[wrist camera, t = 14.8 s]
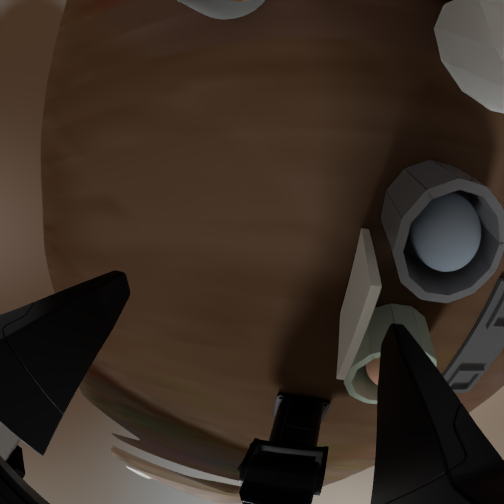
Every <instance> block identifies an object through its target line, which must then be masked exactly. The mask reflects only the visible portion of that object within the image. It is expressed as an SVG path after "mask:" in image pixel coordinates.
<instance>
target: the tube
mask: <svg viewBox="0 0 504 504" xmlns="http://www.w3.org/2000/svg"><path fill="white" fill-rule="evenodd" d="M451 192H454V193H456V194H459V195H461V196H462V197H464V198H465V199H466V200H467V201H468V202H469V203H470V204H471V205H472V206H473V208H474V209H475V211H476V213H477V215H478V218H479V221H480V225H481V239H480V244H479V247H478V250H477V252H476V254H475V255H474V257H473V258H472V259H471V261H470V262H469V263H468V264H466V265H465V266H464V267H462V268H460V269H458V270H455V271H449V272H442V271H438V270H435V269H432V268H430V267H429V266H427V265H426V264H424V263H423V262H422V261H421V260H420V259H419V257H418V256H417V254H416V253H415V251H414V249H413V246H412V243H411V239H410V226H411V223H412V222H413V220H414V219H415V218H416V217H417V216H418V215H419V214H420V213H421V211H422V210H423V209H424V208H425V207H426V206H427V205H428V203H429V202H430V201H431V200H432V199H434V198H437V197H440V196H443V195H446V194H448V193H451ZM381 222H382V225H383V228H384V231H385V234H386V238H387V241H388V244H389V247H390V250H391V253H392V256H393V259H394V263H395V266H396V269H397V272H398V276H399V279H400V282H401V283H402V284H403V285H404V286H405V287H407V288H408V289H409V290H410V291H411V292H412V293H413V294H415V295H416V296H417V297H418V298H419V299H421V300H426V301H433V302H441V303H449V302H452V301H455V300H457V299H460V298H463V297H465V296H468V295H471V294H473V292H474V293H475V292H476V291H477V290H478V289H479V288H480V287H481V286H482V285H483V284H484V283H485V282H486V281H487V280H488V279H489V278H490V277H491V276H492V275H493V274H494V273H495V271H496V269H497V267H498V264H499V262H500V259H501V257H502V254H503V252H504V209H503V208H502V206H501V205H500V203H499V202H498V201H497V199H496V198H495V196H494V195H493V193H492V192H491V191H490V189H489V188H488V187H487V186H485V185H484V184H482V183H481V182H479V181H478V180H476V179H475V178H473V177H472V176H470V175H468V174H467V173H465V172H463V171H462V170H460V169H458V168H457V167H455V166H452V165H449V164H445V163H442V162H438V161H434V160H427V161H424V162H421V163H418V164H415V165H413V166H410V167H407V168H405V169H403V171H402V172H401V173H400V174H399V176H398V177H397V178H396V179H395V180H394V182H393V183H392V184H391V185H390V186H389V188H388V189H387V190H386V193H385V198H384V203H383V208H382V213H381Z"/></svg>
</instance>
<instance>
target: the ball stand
mask: <svg viewBox="0 0 504 504" xmlns="http://www.w3.org/2000/svg"><path fill="white" fill-rule="evenodd" d="M503 347H504V278H499V279H498V281H497V283H496V285H495V287H494V290H493V292H492V294H491V296H490V298H489V300H488V302H487V304H486V305H485V307H484V309H483V311H482V313H481V315H480V317H479V318H478V320H477V322H476V324H475V325H474V327H473V329H472V331H471V332H470V334H469V335H468V337H467V339H466V340H465V342H464V344H463V345H462V347H461V348H460V350H459V351H458V353H457V354H456V356H455V357H454V359H453V360H452V362H451V363H450V364H449V366H448V367H447V369H446V370H445V371H444V373H443V374H442V376H443V377H444V378H445V380H446V381H447V383H448V384H449V385H450V387H451V388H452V390H453V391H454V393H467V392H469V391H470V390H471V389H472V388H473V386H474V385H475V384H476V383H477V382H478V380H479V379H480V378H481V377H482V376H483V374H484V373H485V372H486V370H487V369H488V368H489V367H490V365H491V364H492V363H493V361H494V360H495V359H496V357H497V356H498V354H499V353H500V352H501V350H502V349H503Z"/></svg>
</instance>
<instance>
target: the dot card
mask: <svg viewBox="0 0 504 504" xmlns="http://www.w3.org/2000/svg"><path fill="white" fill-rule="evenodd" d="M381 288H382V285H381V280H380V275H379V270H378V265H377V261H376V256H375V252H374V247H373V243H372V239H371V235H370V231H369V229H364V228H361V231H360V236H359V241H358V245H357V250H356V254H355V258H354V262H353V267H352V271H351V275H350V279H349V283H348V286H347V290H346V294H345V298H344V301H343V305H342V308H341V312H340V328H339V348H338V363H337V375H336V379H339V380H345V378H346V376H347V374H348V372H349V370H350V367H351V365H352V363H353V361H354V358H355V356H356V354H357V351H358V349H359V347H360V344H361V342H362V339H363V337H364V334H365V332H366V329H367V327H368V324H369V322H370V319H371V316H372V314H373V311H374V308H375V305H376V302H377V300H378V297H379V294H380V291H381Z"/></svg>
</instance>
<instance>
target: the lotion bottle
mask: <svg viewBox="0 0 504 504" xmlns="http://www.w3.org/2000/svg"><path fill="white" fill-rule="evenodd" d="M177 1H179V2H181V3H183V4H185V5H187V6H189V7H191V8H192V9H194V10H196V11H198V12H200V13H202V14H204V15H206V16H209V17H212V18H216V19H234V18H238V17H242V16H245V15H247V14H249V13H251V12H253V11H254V10H256V9H257V8H258V7H260V6H261V5H262V4H263V3H264V1H265V0H177Z"/></svg>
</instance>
